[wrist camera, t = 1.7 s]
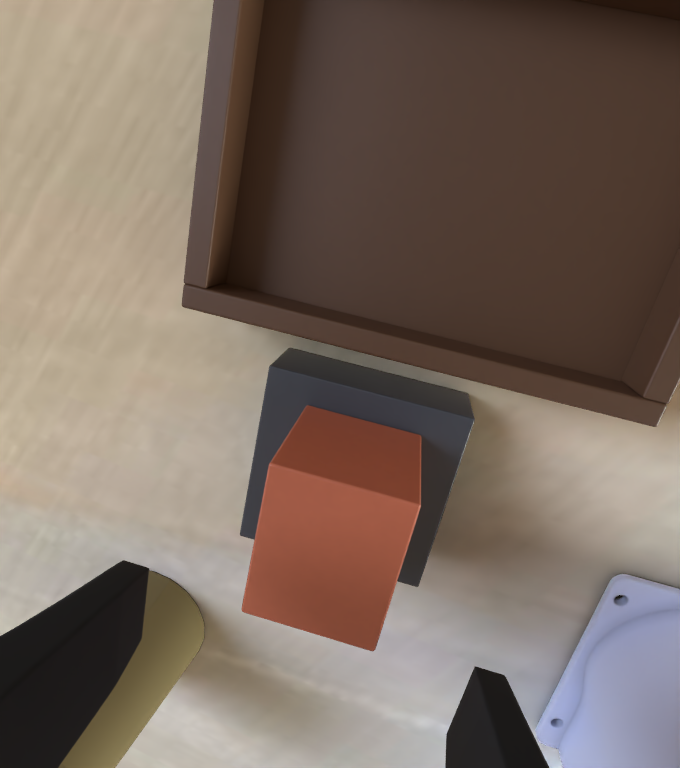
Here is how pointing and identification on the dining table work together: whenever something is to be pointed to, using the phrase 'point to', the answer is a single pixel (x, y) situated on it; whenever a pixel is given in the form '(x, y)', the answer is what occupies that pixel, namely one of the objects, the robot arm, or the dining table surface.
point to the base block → (374, 404)
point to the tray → (451, 188)
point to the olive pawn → (143, 676)
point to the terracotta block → (335, 526)
